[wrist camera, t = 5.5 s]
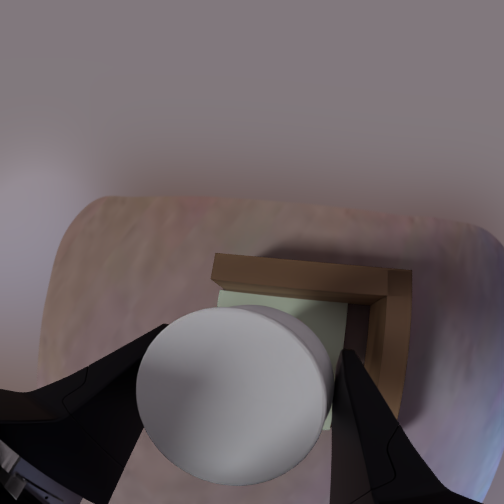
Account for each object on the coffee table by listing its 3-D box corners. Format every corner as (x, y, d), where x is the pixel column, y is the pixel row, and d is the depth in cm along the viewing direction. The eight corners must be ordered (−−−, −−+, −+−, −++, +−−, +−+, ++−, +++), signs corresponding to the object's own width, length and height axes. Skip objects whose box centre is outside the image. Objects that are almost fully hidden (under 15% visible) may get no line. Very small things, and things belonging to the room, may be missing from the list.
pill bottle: (304, 309, 16) (314, 252, 6) (330, 400, 14) (375, 473, 4) (210, 335, 16) (104, 313, 7) (233, 424, 14) (154, 503, 5)
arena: (369, 447, 14) (383, 468, 11) (200, 427, 17) (178, 443, 13) (391, 284, 18) (411, 270, 14) (224, 269, 20) (207, 252, 17)
